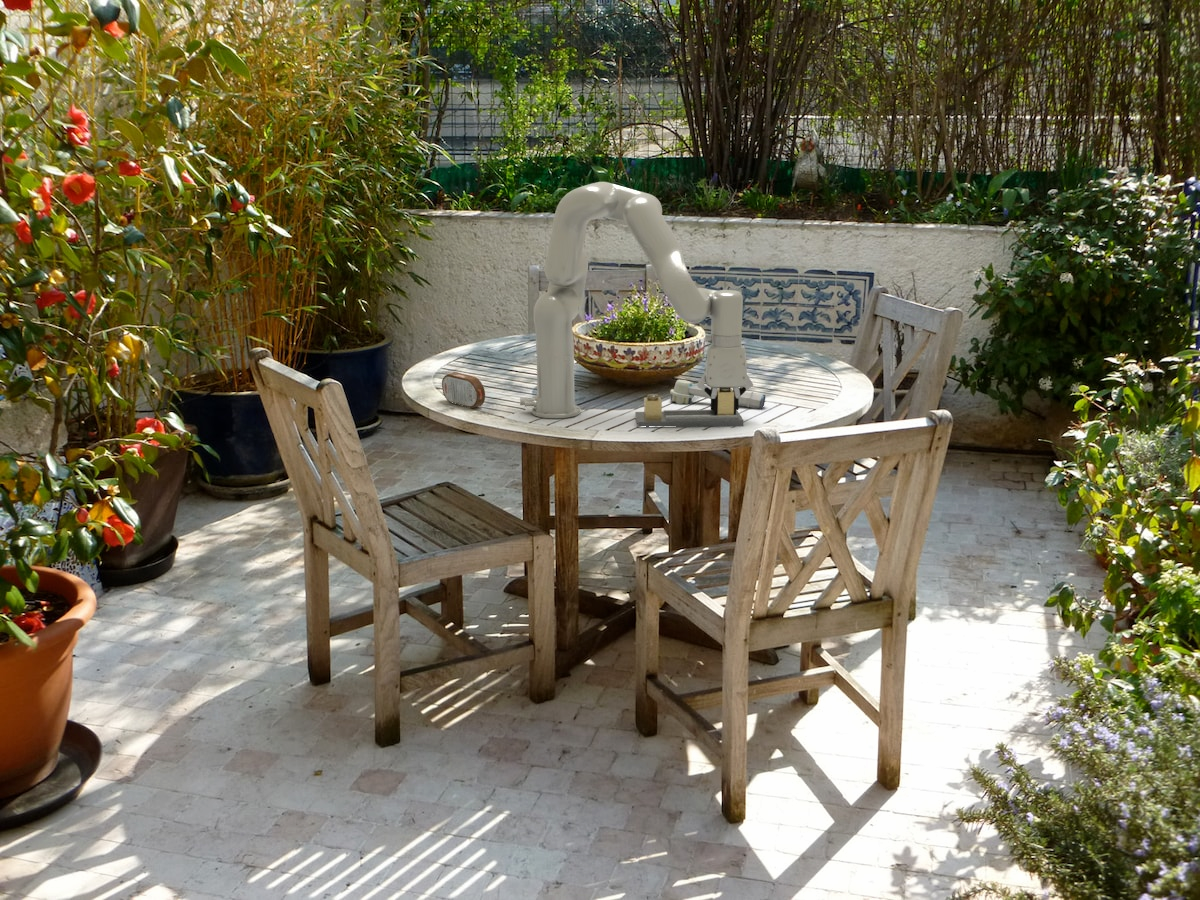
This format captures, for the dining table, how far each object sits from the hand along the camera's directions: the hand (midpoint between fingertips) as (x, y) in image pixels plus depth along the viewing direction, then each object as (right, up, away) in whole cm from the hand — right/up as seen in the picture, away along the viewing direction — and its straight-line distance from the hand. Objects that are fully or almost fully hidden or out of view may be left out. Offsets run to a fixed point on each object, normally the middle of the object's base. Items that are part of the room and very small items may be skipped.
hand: (724, 412), depth 295 cm
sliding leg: (0, 0, 0) cm, 0 cm away
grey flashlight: (0, +2, +17) cm, 17 cm away
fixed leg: (-18, -1, -1) cm, 18 cm away
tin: (-67, +2, +18) cm, 70 cm away
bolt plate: (-9, -2, 0) cm, 9 cm away
